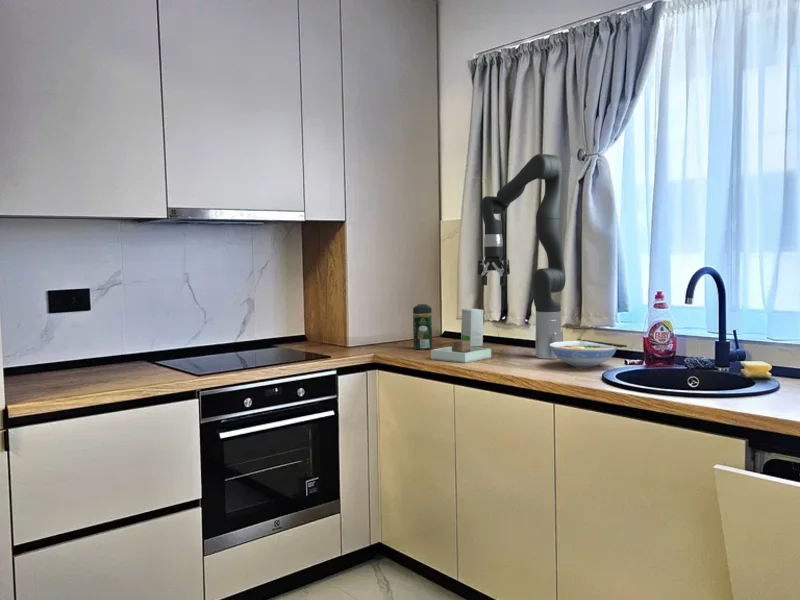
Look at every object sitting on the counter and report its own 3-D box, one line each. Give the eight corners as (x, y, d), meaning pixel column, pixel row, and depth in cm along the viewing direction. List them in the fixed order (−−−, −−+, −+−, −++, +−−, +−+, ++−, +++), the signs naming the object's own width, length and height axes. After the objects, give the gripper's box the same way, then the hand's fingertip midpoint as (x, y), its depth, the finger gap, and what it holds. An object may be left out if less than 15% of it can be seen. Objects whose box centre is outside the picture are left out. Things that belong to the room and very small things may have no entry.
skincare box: (460, 344, 297) (460, 308, 296) (473, 343, 300) (473, 308, 299) (470, 346, 290) (470, 310, 289) (484, 345, 292) (483, 309, 291)
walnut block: (470, 356, 256) (470, 340, 256) (462, 358, 253) (462, 342, 252) (459, 355, 260) (459, 339, 259) (451, 357, 256) (451, 341, 256)
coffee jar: (413, 347, 291) (413, 303, 290) (432, 347, 291) (431, 303, 290) (413, 350, 281) (412, 305, 280) (432, 350, 281) (431, 304, 280)
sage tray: (491, 357, 257) (491, 348, 256) (465, 363, 245) (465, 353, 245) (457, 354, 268) (457, 345, 267) (430, 359, 256) (430, 349, 256)
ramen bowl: (534, 363, 242) (534, 340, 242) (588, 359, 250) (588, 336, 250) (577, 374, 219) (577, 348, 218) (635, 369, 227) (635, 344, 227)
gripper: (513, 245, 278) (513, 285, 279) (484, 246, 287) (484, 284, 288) (502, 245, 272) (503, 286, 273) (473, 246, 282) (474, 285, 283)
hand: (493, 285), depth 281 cm, fingers open, 8 cm apart
